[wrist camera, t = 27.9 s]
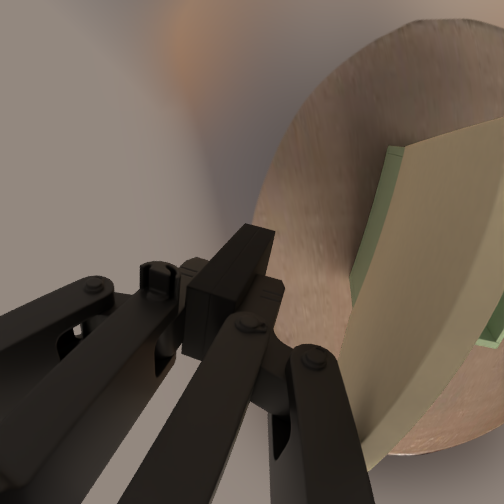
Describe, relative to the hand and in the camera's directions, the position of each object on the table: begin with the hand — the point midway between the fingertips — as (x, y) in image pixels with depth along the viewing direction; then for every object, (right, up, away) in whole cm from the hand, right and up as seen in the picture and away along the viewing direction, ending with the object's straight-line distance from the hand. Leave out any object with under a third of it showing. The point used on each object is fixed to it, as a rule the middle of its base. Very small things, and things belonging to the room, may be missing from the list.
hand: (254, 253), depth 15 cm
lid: (+6, -2, -2) cm, 7 cm away
